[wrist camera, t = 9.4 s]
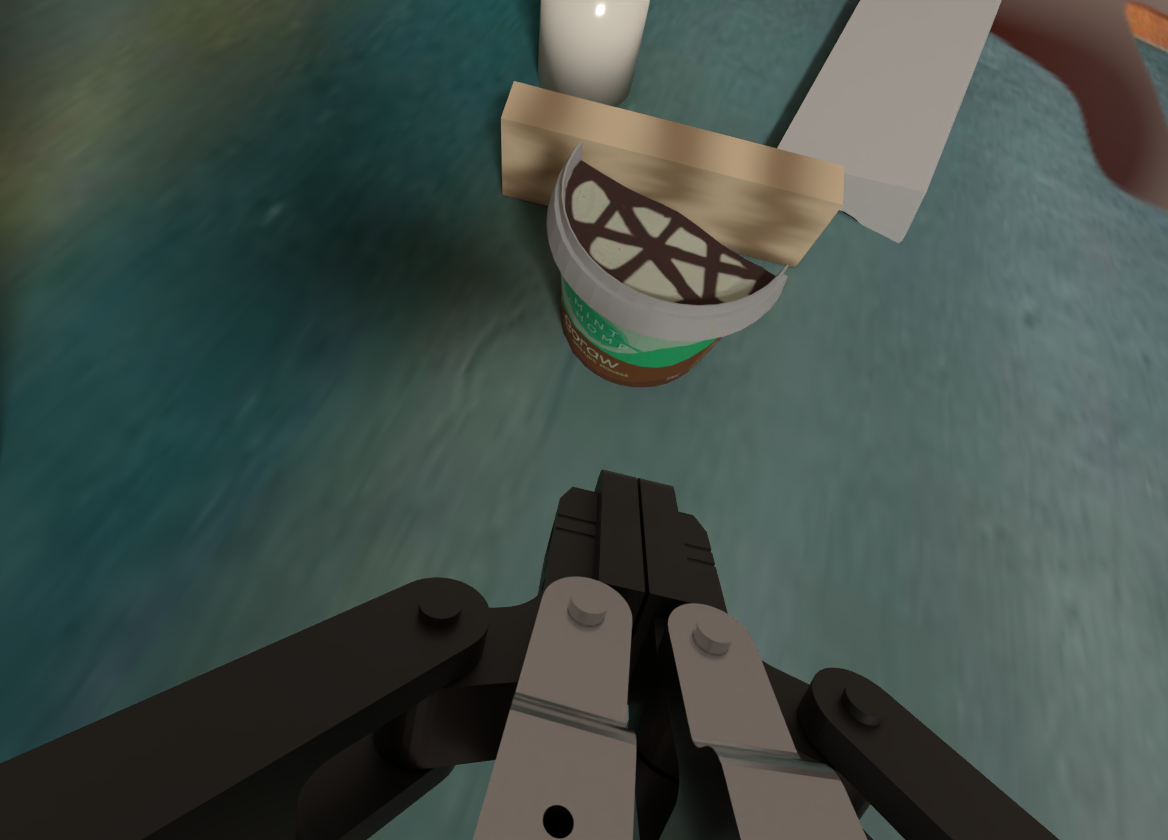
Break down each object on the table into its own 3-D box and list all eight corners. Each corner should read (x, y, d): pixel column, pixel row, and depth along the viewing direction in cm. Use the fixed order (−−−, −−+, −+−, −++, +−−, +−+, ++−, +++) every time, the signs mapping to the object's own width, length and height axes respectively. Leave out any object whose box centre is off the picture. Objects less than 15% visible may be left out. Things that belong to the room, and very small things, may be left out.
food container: (498, 332, 34) (493, 218, 25) (556, 264, 36) (571, 135, 27) (674, 447, 33) (738, 371, 24) (723, 368, 35) (799, 271, 26)
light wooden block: (502, 195, 38) (500, 117, 32) (520, 139, 40) (522, 57, 34) (794, 267, 38) (842, 204, 33) (799, 210, 40) (845, 141, 35)
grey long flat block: (761, 211, 44) (898, 247, 41) (772, 157, 40) (926, 192, 36) (887, -21, 56) (1000, -7, 53) (905, -81, 52) (1028, -70, 49)
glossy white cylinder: (527, 98, 41) (531, -21, 34) (549, 34, 44) (557, -90, 36) (622, 122, 41) (646, 9, 34) (638, 57, 44) (664, -62, 37)
